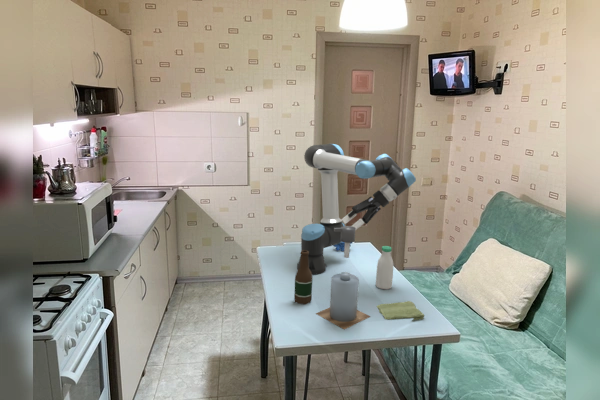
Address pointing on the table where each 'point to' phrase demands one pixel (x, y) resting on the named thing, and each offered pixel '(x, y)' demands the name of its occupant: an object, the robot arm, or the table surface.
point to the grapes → (340, 246)
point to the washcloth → (400, 311)
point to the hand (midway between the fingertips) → (347, 225)
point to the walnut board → (343, 325)
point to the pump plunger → (346, 237)
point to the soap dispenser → (344, 297)
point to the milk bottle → (385, 269)
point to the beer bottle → (303, 281)
